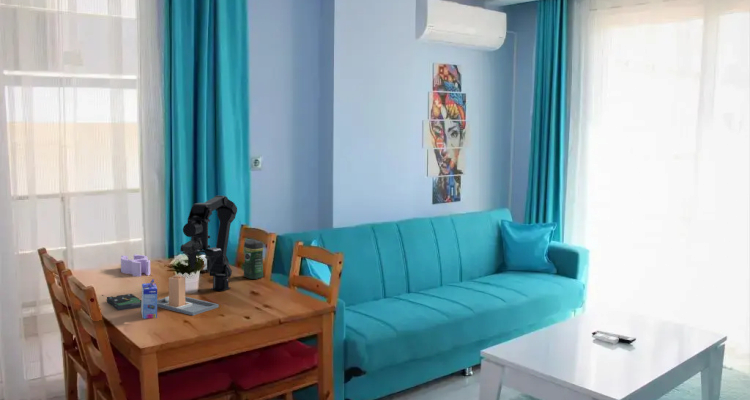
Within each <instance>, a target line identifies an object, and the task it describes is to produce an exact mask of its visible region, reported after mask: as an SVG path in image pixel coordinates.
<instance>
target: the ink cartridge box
mask: <svg viewBox="0 0 750 400" xmlns="http://www.w3.org/2000/svg"><path fill="white" fill-rule="evenodd" d="M140 300H141V307H140V313H141V317H142V319H144V320H145V319H157V318H158V307H157V300H158V287H157V283H155V279H154V278H152V279H151V281H150V282H149V283H147V282H146V283H141V299H140Z"/></svg>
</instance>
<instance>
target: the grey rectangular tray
mask: <svg viewBox="0 0 750 400" xmlns="http://www.w3.org/2000/svg"><path fill="white" fill-rule="evenodd" d="M219 306H220V304H219V303H215V302H211V301H206V300H201V299H198V298H194V297H189V296H185V305H183V306H180V307H173V306H169V295H167V296H165V297H163V298H160V299H157V308H160V309H166V310H169V311H173V312H178V313H182V314H185V315H188V316H196V315H198V314H202V313H204V312H208V311H211V310H215V309H217V308H219Z"/></svg>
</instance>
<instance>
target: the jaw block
mask: <svg viewBox="0 0 750 400" xmlns="http://www.w3.org/2000/svg"><path fill="white" fill-rule="evenodd" d="M168 296H169V306H173V307H180V306H183V305H185V297H186V276H184V275H183V276H182V275H181V274H174V275H173V276H171V277H168Z"/></svg>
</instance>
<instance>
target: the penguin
mask: <svg viewBox="0 0 750 400" xmlns="http://www.w3.org/2000/svg"><path fill="white" fill-rule="evenodd" d="M205 256H206V254H201V255H199V256H198V257H201V258H202V259H203V261H204V265H203V266H204V267H203V271H206V270H207V259H206V258H205Z"/></svg>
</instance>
